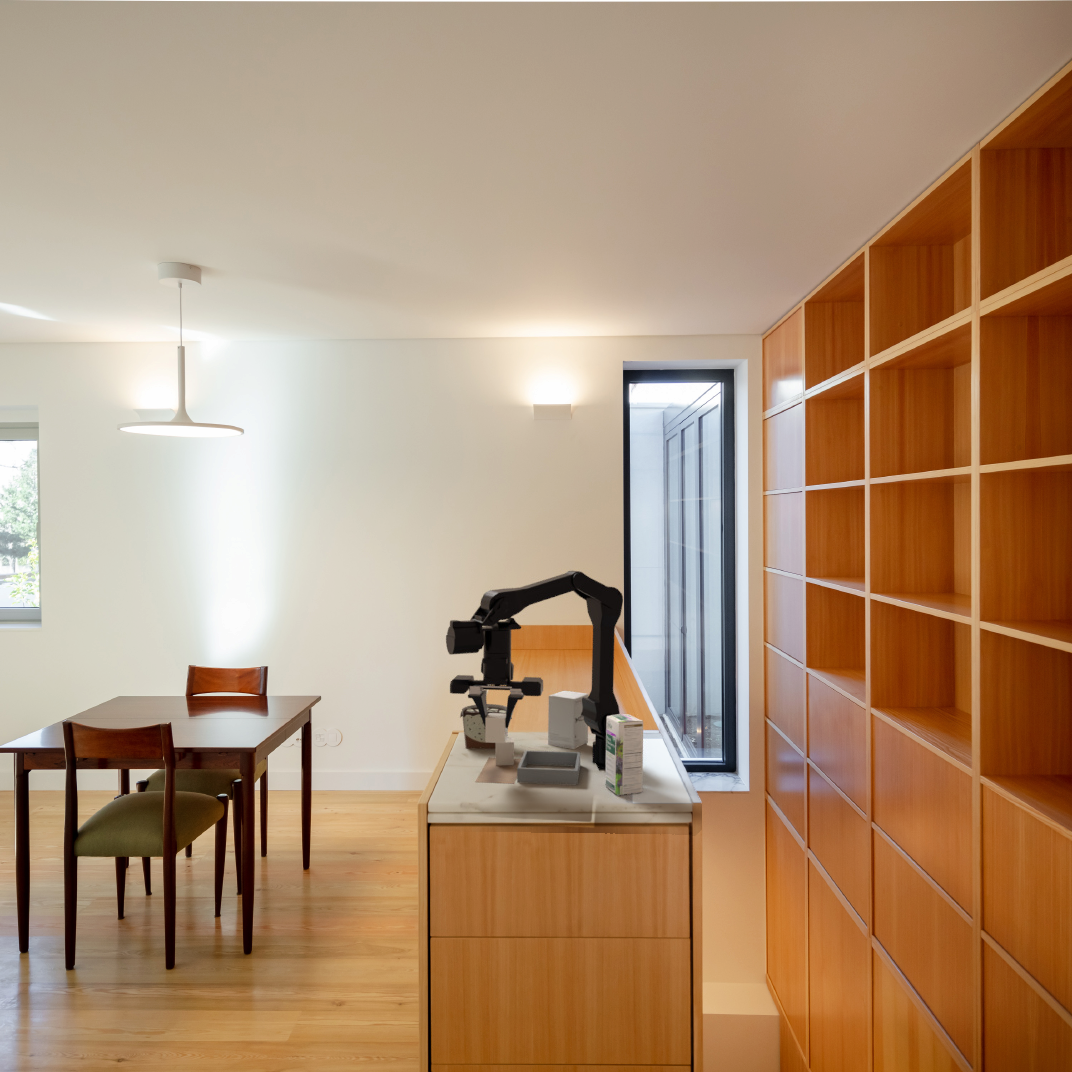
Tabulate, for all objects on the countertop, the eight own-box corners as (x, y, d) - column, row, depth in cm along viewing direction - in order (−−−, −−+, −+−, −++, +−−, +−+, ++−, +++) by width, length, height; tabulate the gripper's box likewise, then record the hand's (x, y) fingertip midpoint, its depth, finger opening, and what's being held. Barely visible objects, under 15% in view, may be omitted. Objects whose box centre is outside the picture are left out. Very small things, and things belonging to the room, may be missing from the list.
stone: (507, 737, 149) (507, 713, 149) (504, 743, 145) (504, 718, 145) (488, 736, 149) (489, 713, 149) (485, 742, 145) (485, 717, 145)
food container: (515, 745, 173) (515, 704, 173) (511, 753, 167) (511, 710, 166) (464, 743, 174) (465, 702, 174) (459, 751, 168) (459, 708, 168)
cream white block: (513, 759, 159) (513, 737, 159) (513, 765, 155) (514, 742, 155) (495, 759, 159) (495, 737, 159) (495, 765, 155) (495, 742, 155)
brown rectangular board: (524, 762, 160) (524, 758, 160) (514, 787, 144) (514, 783, 144) (489, 761, 161) (489, 757, 161) (475, 785, 145) (475, 781, 145)
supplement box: (573, 752, 167) (574, 699, 167) (547, 747, 171) (547, 694, 171) (589, 745, 173) (589, 693, 173) (562, 740, 177) (563, 689, 177)
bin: (580, 768, 155) (580, 752, 155) (577, 788, 143) (577, 770, 143) (524, 766, 157) (524, 750, 157) (517, 786, 145) (517, 768, 145)
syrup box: (604, 787, 144) (604, 715, 144) (629, 783, 147) (630, 712, 147) (617, 796, 139) (618, 722, 139) (644, 792, 141) (644, 719, 141)
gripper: (546, 646, 154) (545, 718, 154) (461, 644, 156) (460, 715, 156) (540, 655, 143) (540, 733, 143) (449, 652, 145) (449, 729, 145)
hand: (496, 727), depth 147 cm, fingers closed on stone, 4 cm apart
